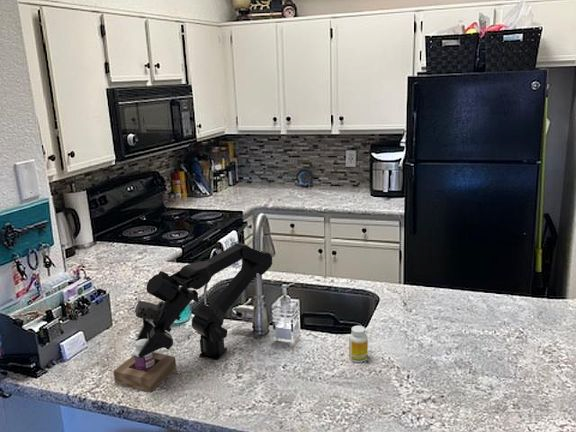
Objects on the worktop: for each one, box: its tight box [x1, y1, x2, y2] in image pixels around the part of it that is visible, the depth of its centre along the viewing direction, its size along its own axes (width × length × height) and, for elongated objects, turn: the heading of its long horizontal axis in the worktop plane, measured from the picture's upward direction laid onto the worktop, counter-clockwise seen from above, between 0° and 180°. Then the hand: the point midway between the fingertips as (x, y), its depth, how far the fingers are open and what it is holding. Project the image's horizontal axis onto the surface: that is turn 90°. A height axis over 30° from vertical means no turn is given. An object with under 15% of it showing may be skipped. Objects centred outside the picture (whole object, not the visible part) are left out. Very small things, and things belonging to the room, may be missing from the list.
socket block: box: [112, 352, 177, 393], centre depth 148 cm, size 12×12×4 cm
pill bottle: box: [133, 339, 155, 372], centre depth 147 cm, size 5×5×10 cm
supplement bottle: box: [348, 325, 369, 363], centre depth 152 cm, size 5×5×10 cm
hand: (137, 350), depth 145 cm, fingers open, 7 cm apart
